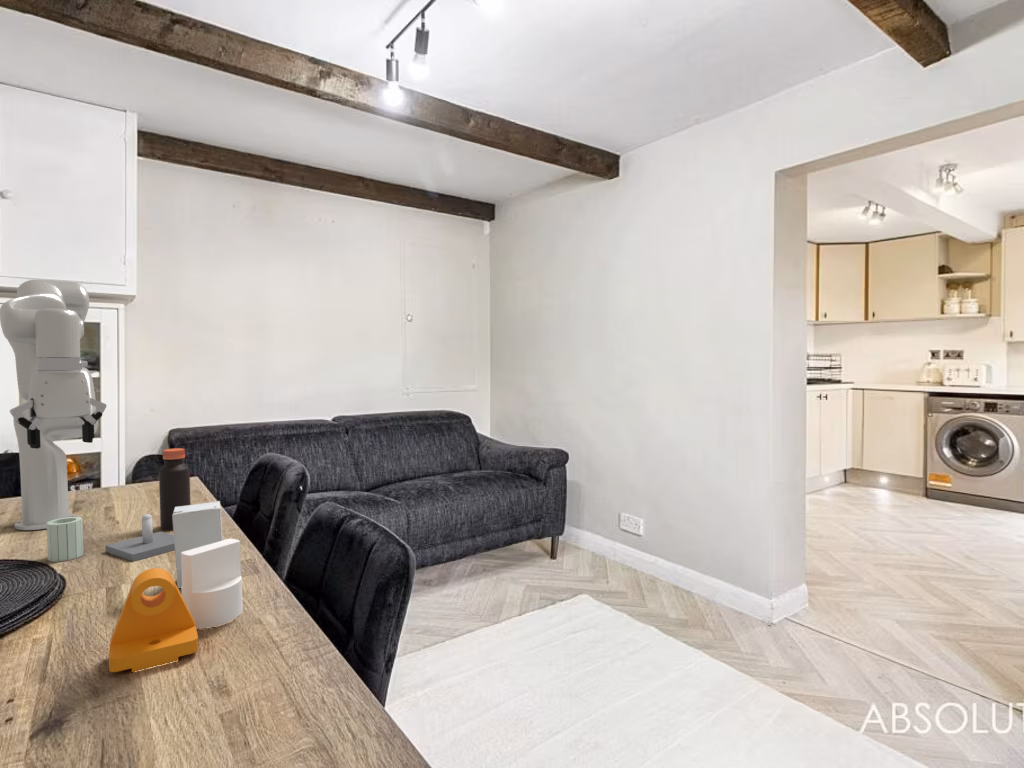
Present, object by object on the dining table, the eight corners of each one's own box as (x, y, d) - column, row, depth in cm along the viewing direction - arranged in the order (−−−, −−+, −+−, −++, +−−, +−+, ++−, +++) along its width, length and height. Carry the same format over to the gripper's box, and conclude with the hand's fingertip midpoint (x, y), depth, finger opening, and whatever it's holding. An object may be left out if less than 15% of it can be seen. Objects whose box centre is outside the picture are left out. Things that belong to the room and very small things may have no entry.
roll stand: (105, 551, 130) (104, 516, 129) (160, 537, 140) (159, 504, 140) (133, 561, 124) (132, 524, 123) (189, 545, 134) (188, 511, 134)
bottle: (154, 528, 147) (152, 450, 146) (178, 521, 154) (176, 447, 153) (173, 531, 145) (170, 452, 144) (197, 524, 151) (195, 448, 150)
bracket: (109, 679, 78) (106, 592, 78) (111, 656, 84) (108, 575, 84) (198, 657, 84) (196, 576, 84) (194, 637, 90) (192, 561, 90)
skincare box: (224, 572, 117) (222, 500, 117) (224, 582, 112) (222, 506, 111) (177, 579, 114) (174, 504, 113) (174, 590, 108) (172, 512, 108)
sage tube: (43, 558, 126) (41, 522, 125) (75, 550, 131) (74, 515, 130) (55, 563, 123) (54, 526, 122) (88, 555, 128) (86, 519, 127)
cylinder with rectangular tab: (202, 634, 91) (199, 559, 90) (171, 620, 96) (169, 549, 95) (253, 613, 99) (252, 543, 98) (223, 601, 103) (221, 535, 103)
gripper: (95, 366, 134) (98, 439, 135) (1, 367, 120) (5, 449, 120) (112, 365, 131) (114, 441, 131) (16, 366, 116) (20, 451, 116)
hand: (62, 445), depth 126 cm, fingers open, 9 cm apart
